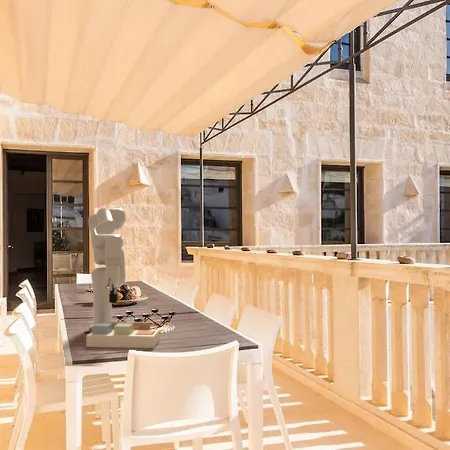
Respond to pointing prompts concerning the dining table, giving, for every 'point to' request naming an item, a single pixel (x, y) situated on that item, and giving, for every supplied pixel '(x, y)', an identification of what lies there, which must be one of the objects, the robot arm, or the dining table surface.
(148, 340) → the keypad
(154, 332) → the key terracotta
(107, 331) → the key slate
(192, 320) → the dining table surface
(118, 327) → the key sage
